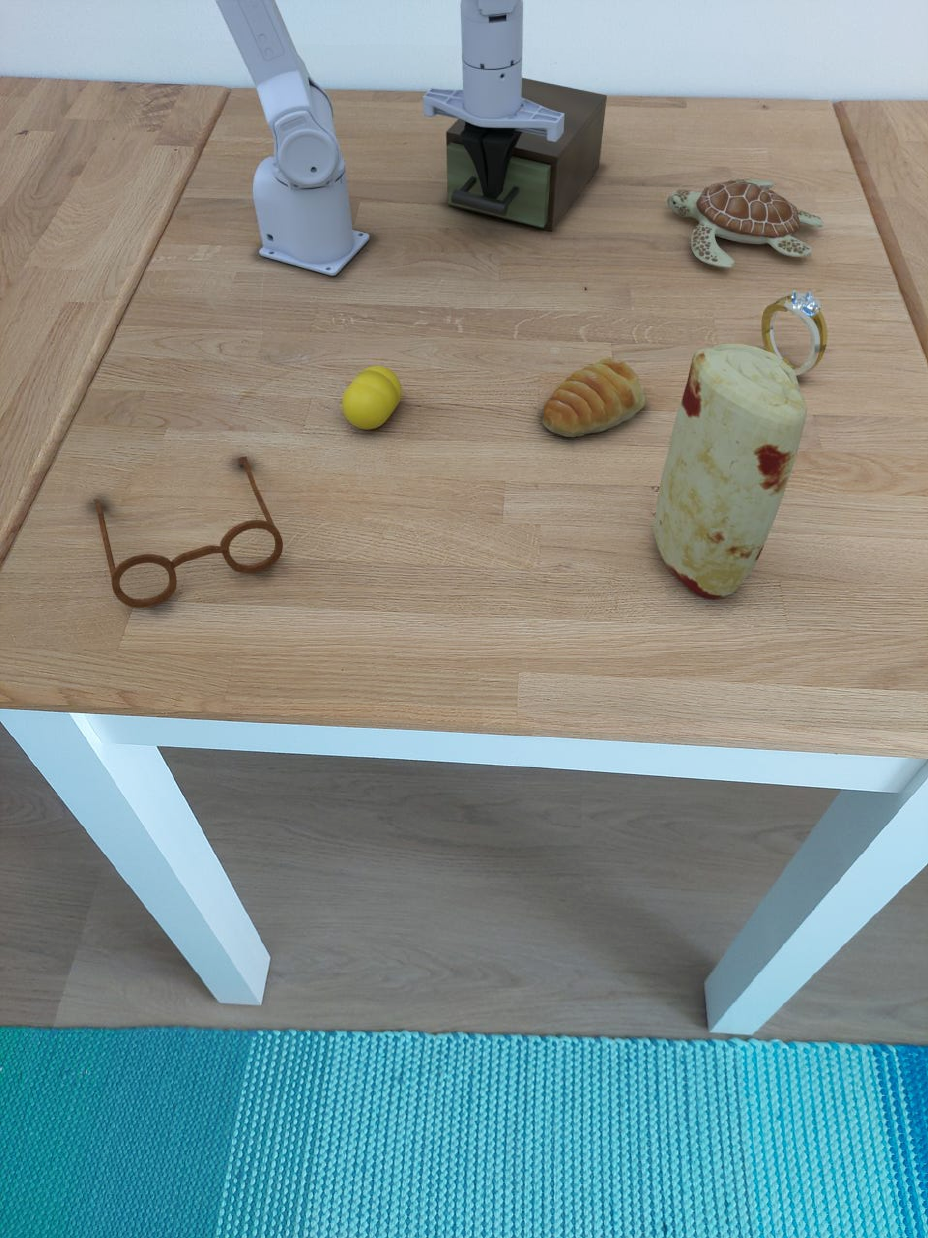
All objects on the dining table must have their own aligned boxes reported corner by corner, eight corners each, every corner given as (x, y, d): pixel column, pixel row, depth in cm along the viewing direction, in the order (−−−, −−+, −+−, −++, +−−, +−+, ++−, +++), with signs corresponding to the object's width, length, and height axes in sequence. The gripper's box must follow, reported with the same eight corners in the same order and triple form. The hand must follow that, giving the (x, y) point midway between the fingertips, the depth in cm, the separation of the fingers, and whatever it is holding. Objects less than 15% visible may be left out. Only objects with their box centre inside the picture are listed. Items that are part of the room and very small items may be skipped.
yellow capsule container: (378, 445, 83) (374, 407, 79) (335, 431, 84) (329, 392, 80) (411, 401, 86) (408, 363, 83) (369, 388, 87) (365, 350, 84)
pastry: (574, 456, 82) (577, 423, 79) (523, 416, 85) (525, 383, 82) (649, 411, 85) (655, 377, 82) (598, 374, 88) (602, 340, 85)
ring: (817, 386, 87) (845, 313, 81) (789, 396, 86) (815, 323, 80) (772, 344, 91) (795, 270, 84) (745, 353, 90) (766, 280, 84)
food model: (625, 548, 76) (665, 344, 59) (687, 514, 78) (743, 308, 62) (706, 629, 71) (775, 432, 55) (771, 591, 73) (855, 389, 57)
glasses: (126, 618, 72) (105, 577, 68) (94, 504, 79) (74, 461, 75) (289, 565, 75) (278, 523, 71) (245, 460, 82) (233, 416, 78)
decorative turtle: (688, 175, 109) (696, 132, 105) (831, 207, 105) (845, 163, 101) (639, 257, 99) (646, 213, 95) (794, 296, 95) (808, 251, 91)
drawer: (526, 250, 99) (529, 192, 94) (428, 225, 102) (426, 167, 97) (587, 168, 109) (593, 111, 103) (497, 147, 112) (498, 91, 106)
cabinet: (551, 231, 103) (557, 156, 96) (447, 205, 106) (445, 131, 99) (599, 167, 110) (607, 94, 104) (500, 145, 114) (502, 72, 107)
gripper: (579, 50, 88) (570, 188, 99) (442, 27, 92) (448, 162, 103) (550, 83, 84) (545, 222, 95) (409, 57, 89) (419, 194, 99)
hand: (493, 193), depth 99 cm, fingers closed, pressing on drawer
